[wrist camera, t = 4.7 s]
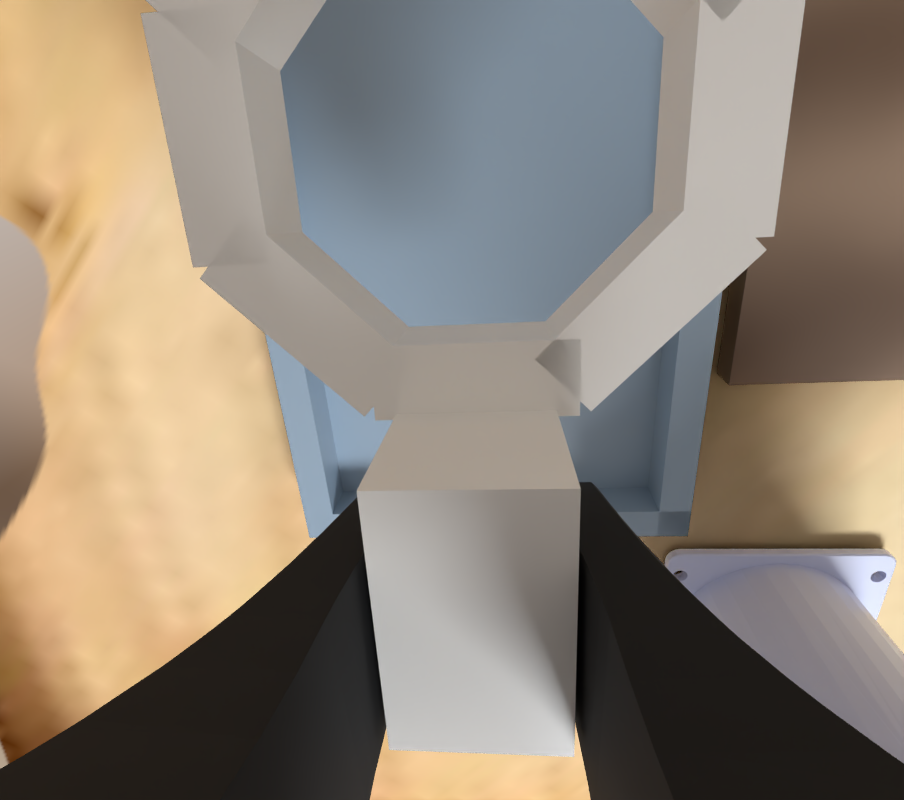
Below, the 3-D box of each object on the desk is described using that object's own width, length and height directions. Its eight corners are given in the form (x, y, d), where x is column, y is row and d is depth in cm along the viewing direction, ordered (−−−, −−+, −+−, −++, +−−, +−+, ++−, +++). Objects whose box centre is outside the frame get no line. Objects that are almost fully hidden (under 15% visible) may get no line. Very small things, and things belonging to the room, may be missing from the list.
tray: (669, 500, 19) (687, 536, 18) (326, 504, 21) (309, 537, 19) (764, -279, 11) (815, -363, 9) (188, -195, 13) (136, -254, 11)
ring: (692, 569, 11) (800, 765, 7) (294, 568, 11) (192, 742, 8) (778, -240, 7) (1143, -836, 3) (165, -157, 7) (-177, -542, 4)
